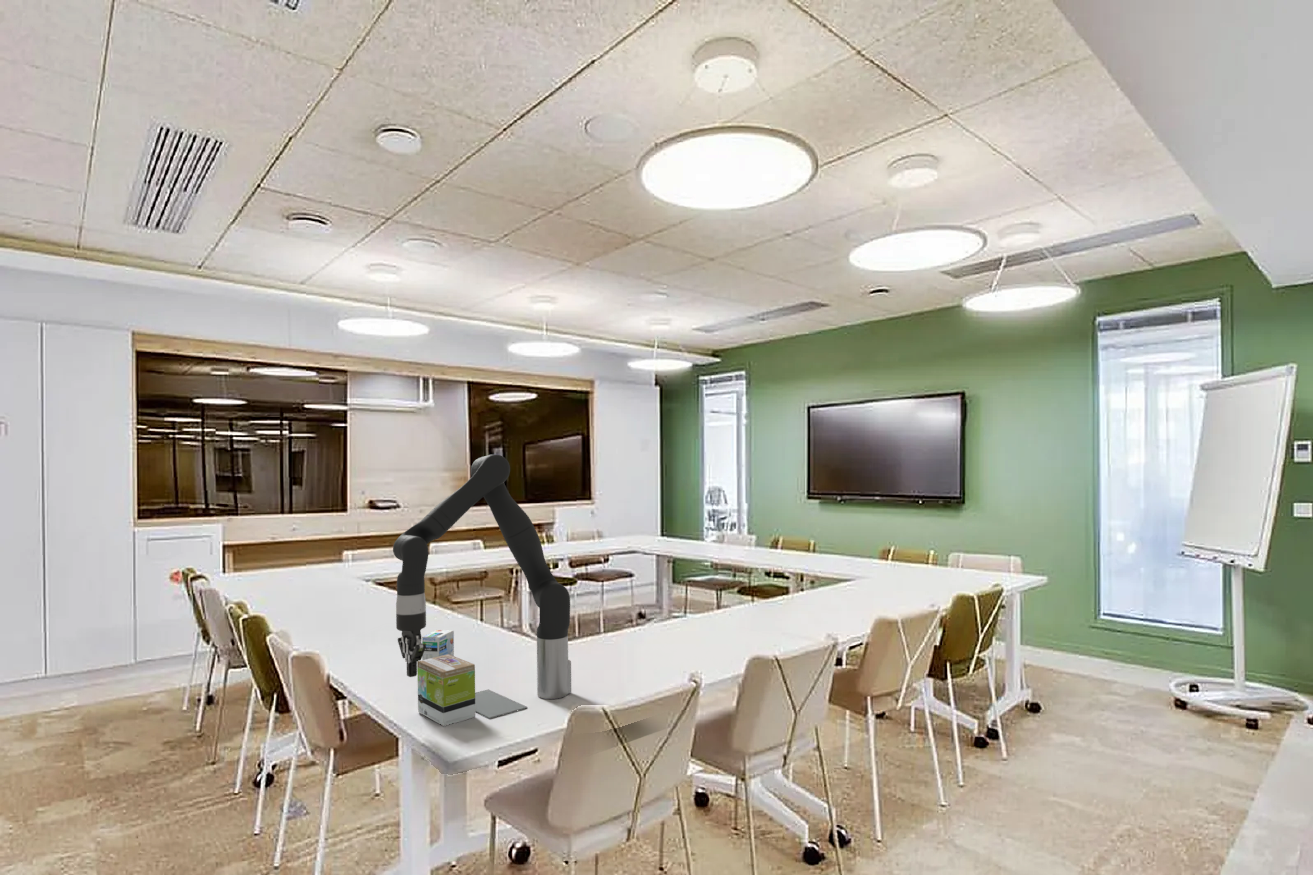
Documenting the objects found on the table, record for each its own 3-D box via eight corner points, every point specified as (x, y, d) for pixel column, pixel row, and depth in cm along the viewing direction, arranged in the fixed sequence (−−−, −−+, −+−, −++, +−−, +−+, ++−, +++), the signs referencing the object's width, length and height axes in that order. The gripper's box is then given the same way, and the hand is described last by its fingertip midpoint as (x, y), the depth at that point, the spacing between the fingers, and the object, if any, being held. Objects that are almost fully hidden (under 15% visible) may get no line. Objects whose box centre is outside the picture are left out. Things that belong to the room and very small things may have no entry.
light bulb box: (439, 669, 244) (439, 637, 244) (421, 668, 245) (421, 636, 245) (454, 660, 254) (454, 629, 254) (437, 660, 255) (436, 629, 256)
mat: (488, 690, 220) (488, 689, 220) (527, 708, 204) (527, 706, 204) (451, 700, 212) (451, 698, 212) (489, 719, 196) (489, 717, 196)
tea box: (416, 713, 201) (416, 660, 201) (449, 704, 208) (449, 652, 208) (443, 727, 190) (442, 670, 191) (476, 717, 197) (476, 662, 198)
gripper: (435, 611, 191) (436, 678, 191) (414, 605, 201) (414, 668, 200) (407, 616, 186) (408, 684, 185) (387, 609, 196) (388, 674, 195)
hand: (411, 676), depth 193 cm, fingers closed
